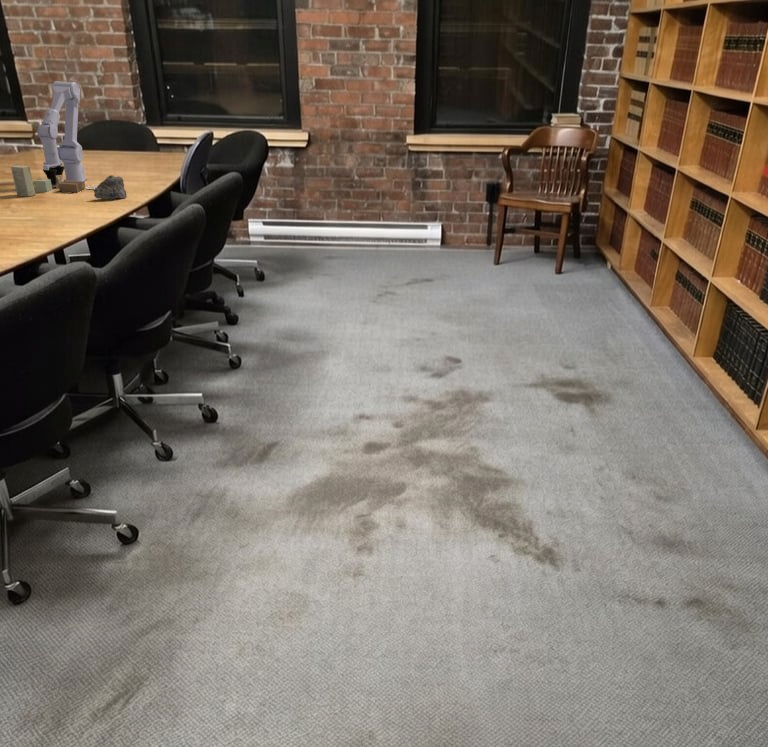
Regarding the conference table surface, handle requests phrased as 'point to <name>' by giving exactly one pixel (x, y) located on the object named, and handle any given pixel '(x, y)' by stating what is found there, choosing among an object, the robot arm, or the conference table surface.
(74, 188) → the walnut block
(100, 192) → the mineral rock
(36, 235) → the conference table surface
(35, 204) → the conference table surface
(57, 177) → the maple cube
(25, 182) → the skincare box
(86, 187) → the card
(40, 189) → the sage cube
